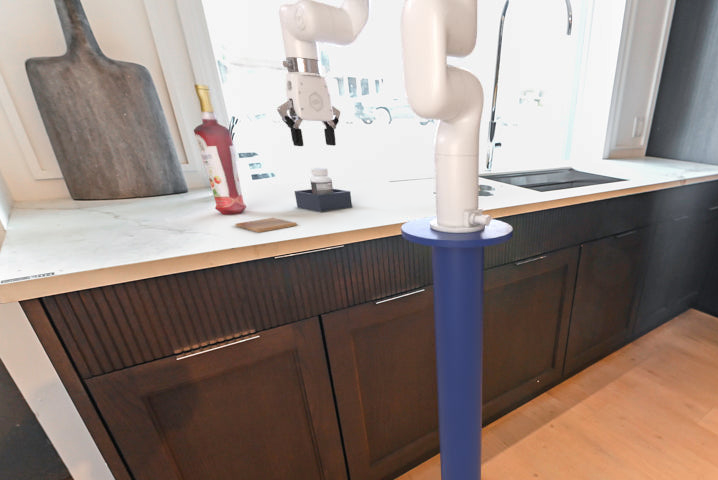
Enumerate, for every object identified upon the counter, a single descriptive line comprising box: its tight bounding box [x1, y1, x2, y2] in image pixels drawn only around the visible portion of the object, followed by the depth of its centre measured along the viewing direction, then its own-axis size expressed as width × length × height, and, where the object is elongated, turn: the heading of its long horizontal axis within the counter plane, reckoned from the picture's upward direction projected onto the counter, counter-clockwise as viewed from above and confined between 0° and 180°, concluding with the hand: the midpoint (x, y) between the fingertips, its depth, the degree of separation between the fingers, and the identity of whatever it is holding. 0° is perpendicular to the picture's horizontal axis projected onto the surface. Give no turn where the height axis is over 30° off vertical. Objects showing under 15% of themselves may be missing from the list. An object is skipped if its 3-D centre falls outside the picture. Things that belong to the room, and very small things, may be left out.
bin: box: [294, 188, 353, 213], centre depth 117 cm, size 10×10×4 cm
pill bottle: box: [310, 167, 334, 195], centre depth 116 cm, size 5×5×10 cm
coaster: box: [234, 217, 298, 233], centre depth 96 cm, size 9×9×1 cm
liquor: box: [193, 84, 248, 215], centre depth 101 cm, size 7×7×28 cm
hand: (315, 145), depth 111 cm, fingers open, 9 cm apart
